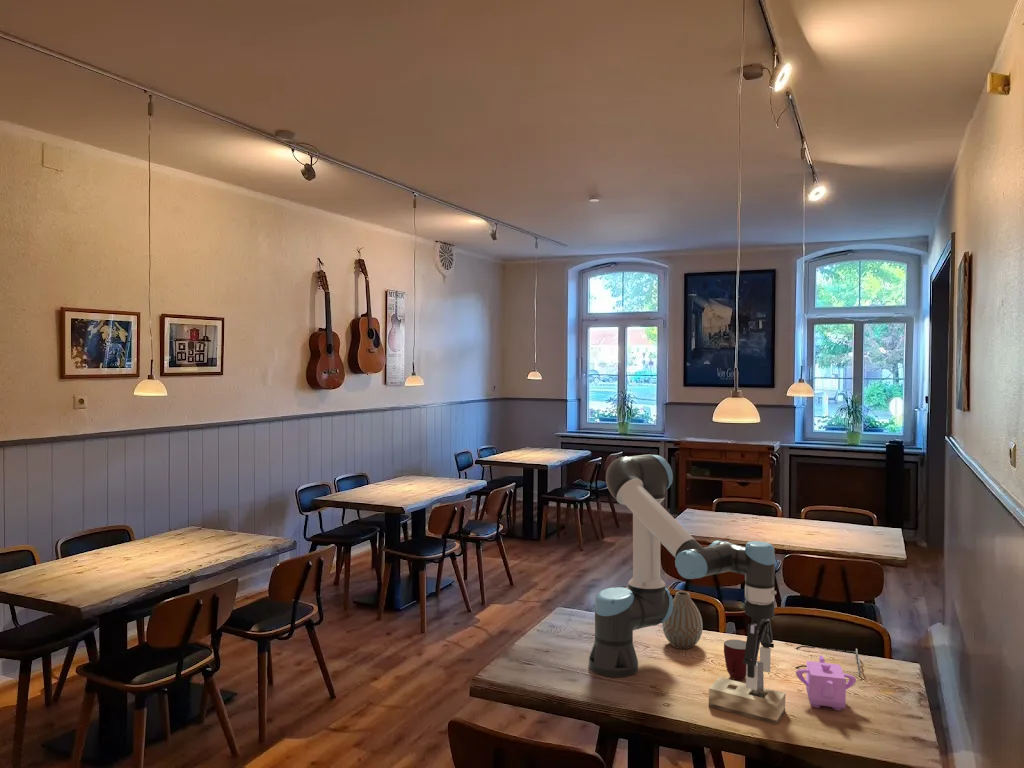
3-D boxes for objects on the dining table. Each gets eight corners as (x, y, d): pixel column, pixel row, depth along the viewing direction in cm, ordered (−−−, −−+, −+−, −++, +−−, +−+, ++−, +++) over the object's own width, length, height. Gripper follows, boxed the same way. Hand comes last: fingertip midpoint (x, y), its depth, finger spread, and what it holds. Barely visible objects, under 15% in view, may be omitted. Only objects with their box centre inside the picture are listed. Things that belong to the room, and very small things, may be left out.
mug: (745, 688, 210) (745, 654, 210) (717, 682, 214) (718, 648, 214) (754, 676, 219) (755, 643, 219) (727, 669, 223) (728, 637, 223)
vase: (706, 653, 237) (707, 599, 236) (666, 652, 237) (667, 598, 237) (697, 638, 250) (697, 587, 250) (658, 637, 250) (659, 587, 250)
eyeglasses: (862, 680, 218) (861, 666, 218) (794, 671, 225) (794, 658, 225) (857, 658, 235) (857, 645, 235) (795, 651, 242) (794, 639, 242)
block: (708, 706, 198) (708, 688, 198) (718, 694, 206) (719, 677, 206) (777, 724, 188) (777, 705, 188) (785, 711, 196) (785, 692, 196)
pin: (750, 708, 195) (749, 664, 195) (753, 704, 198) (752, 660, 198) (762, 711, 193) (761, 666, 193) (765, 707, 196) (764, 662, 196)
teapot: (866, 710, 197) (866, 670, 197) (830, 719, 191) (830, 678, 191) (820, 688, 211) (821, 650, 211) (786, 696, 205) (786, 658, 205)
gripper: (761, 616, 183) (760, 700, 183) (785, 591, 203) (784, 667, 204) (731, 610, 187) (730, 692, 187) (757, 587, 207) (756, 661, 208)
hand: (758, 679), depth 195 cm, fingers open, 13 cm apart
